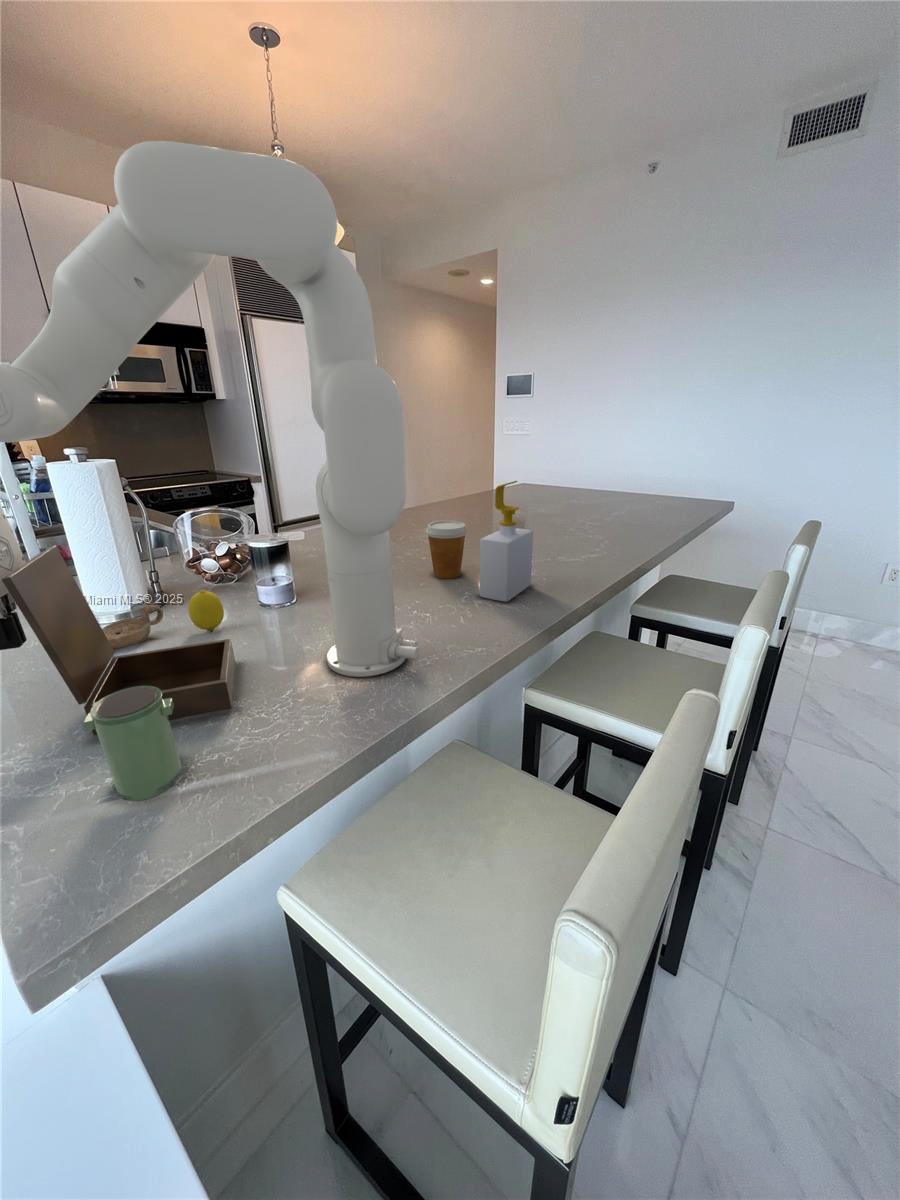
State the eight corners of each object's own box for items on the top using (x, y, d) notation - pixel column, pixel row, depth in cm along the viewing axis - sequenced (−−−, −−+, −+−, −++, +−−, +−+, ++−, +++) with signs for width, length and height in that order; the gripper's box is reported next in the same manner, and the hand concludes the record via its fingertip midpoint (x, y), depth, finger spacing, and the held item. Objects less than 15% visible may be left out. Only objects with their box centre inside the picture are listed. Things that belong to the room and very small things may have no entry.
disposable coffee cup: (422, 570, 119) (421, 522, 115) (459, 566, 122) (459, 519, 118) (433, 582, 111) (432, 531, 107) (472, 578, 114) (473, 527, 109)
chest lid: (56, 545, 63) (49, 546, 63) (9, 577, 51) (0, 579, 51) (115, 652, 70) (109, 654, 70) (86, 702, 58) (78, 705, 58)
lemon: (214, 639, 86) (205, 596, 83) (186, 636, 87) (177, 594, 84) (233, 626, 91) (225, 585, 88) (207, 624, 92) (198, 583, 89)
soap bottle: (506, 603, 99) (510, 486, 90) (478, 597, 102) (479, 483, 94) (531, 585, 108) (537, 478, 100) (504, 580, 112) (507, 476, 103)
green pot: (192, 753, 57) (173, 679, 53) (185, 790, 52) (163, 710, 48) (117, 770, 55) (92, 693, 51) (102, 810, 49) (72, 727, 46)
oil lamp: (102, 663, 78) (93, 635, 76) (77, 653, 81) (68, 626, 79) (179, 632, 88) (172, 606, 87) (154, 624, 92) (147, 599, 90)
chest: (236, 665, 77) (230, 638, 75) (232, 713, 65) (225, 681, 63) (121, 685, 72) (112, 656, 70) (95, 740, 60) (83, 707, 58)
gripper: (-45, 502, 47) (20, 669, 54) (20, 481, 60) (66, 618, 67) (-148, 509, 45) (-67, 683, 51) (-57, 486, 58) (-1, 627, 64)
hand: (8, 646), depth 59 cm, fingers closed
